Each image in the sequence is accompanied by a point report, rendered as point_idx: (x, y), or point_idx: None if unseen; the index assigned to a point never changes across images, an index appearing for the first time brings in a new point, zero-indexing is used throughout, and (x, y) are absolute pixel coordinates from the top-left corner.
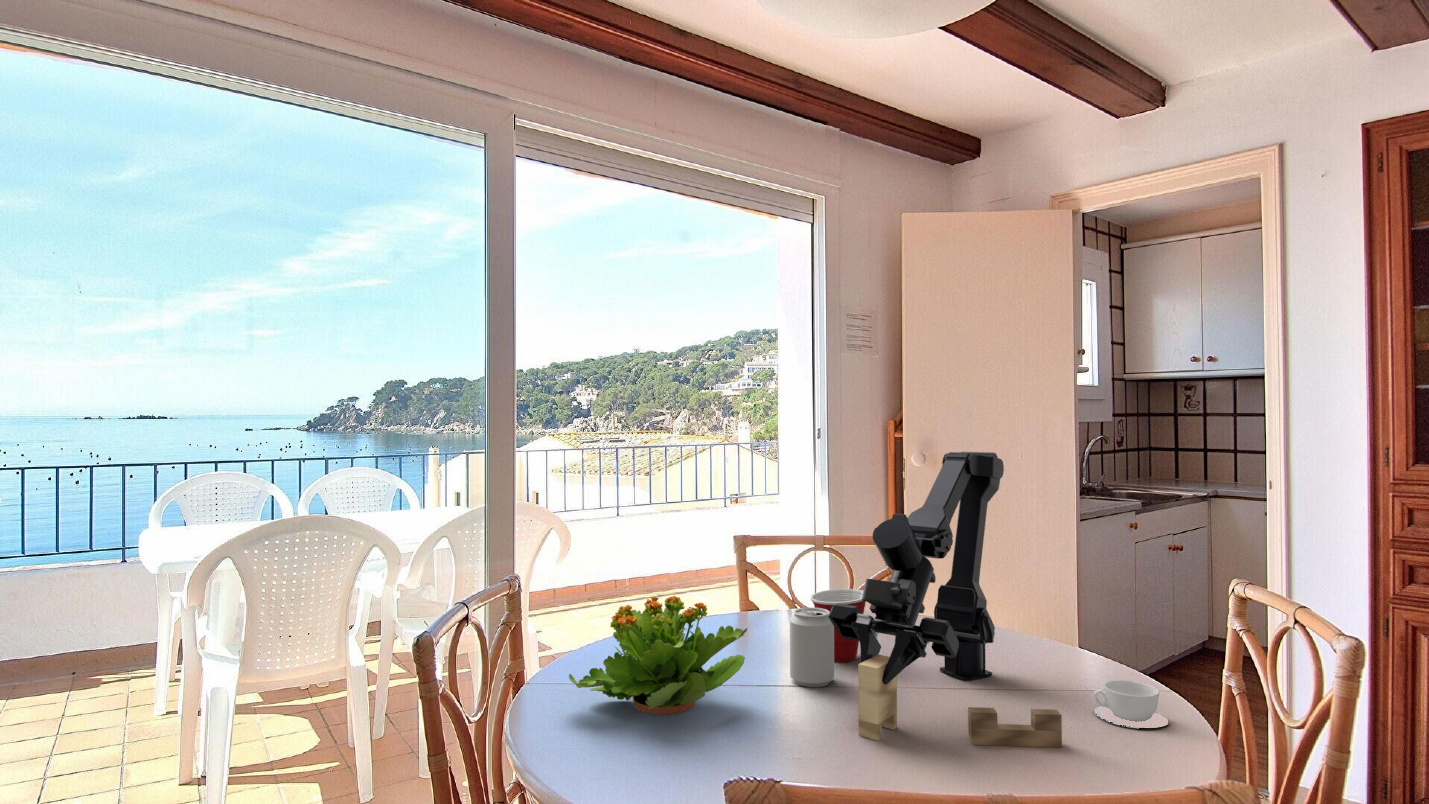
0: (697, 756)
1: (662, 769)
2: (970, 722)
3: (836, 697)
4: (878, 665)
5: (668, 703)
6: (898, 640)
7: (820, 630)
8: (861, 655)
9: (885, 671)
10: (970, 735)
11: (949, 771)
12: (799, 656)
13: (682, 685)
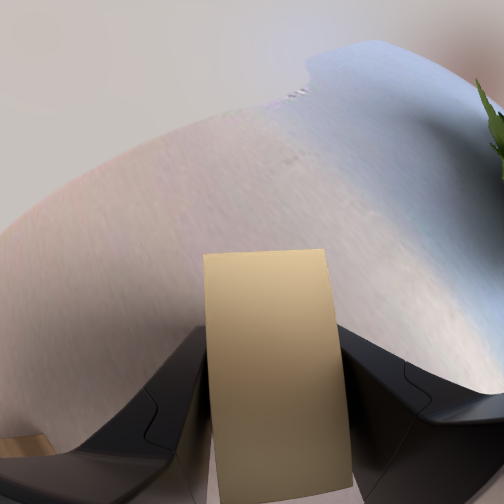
0: (383, 108)
1: (372, 77)
2: (22, 444)
3: None
4: (224, 300)
5: (501, 155)
6: (112, 470)
7: None
8: (389, 355)
9: (199, 342)
10: (40, 444)
11: (38, 278)
12: None
13: (488, 106)
